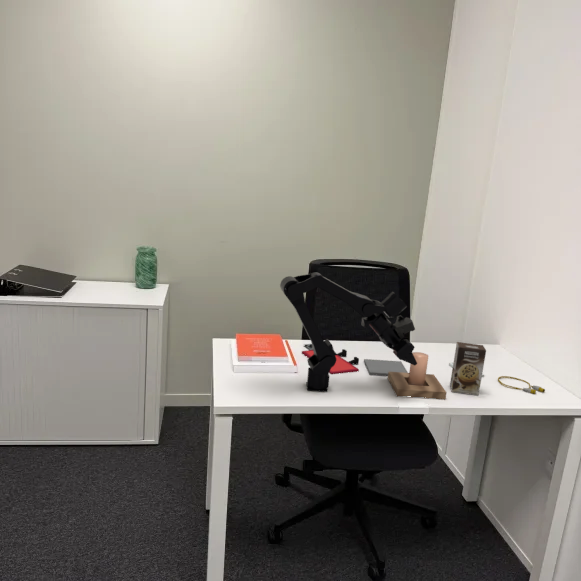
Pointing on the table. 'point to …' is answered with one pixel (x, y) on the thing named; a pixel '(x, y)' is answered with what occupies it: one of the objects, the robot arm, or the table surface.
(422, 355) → the plug
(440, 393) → the pocket board
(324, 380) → the robot arm
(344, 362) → the red board with handle
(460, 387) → the coffee box
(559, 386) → the table surface
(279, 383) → the table surface
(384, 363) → the mat
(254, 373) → the table surface
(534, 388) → the extension cord
